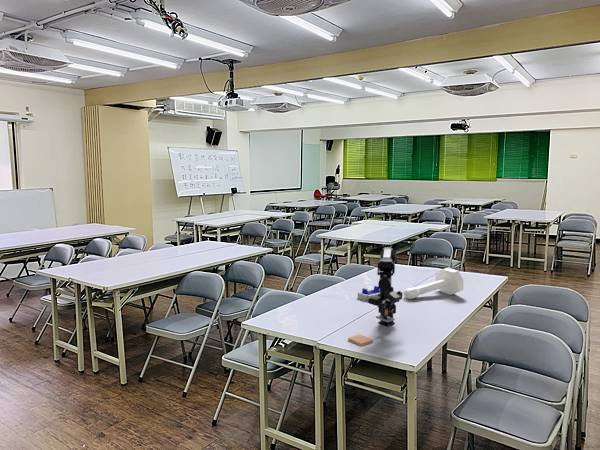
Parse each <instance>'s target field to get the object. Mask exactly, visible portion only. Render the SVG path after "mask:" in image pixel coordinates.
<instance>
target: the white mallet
mask: <svg viewBox="0 0 600 450" xmlns="http://www.w3.org/2000/svg"><path fill="white" fill-rule="evenodd" d="M464 289H465V288H464V279H463V276H462V275H461V273H460V271H459V270H456V269H454V268H450V267H446V268H443V269H441V270H439V271H438V272H436V273H435V281H433V282H429V283H427V284H423V285H420V286H416V287H414V286H412V287H409V288H406V289H404V290H403V296H404V298H405V299H407V300H413V299H416V298H418V297H419V296H420V295H423V294H427V293H429V292H433V291H436V290H439V291H440V292H442V293H445V294H448V295H450V296H451V295H455V294H457V293H460V292H462V291H464Z"/></svg>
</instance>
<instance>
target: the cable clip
mask: <svg viewBox="0 0 600 450" xmlns="http://www.w3.org/2000/svg"><path fill="white" fill-rule="evenodd" d="M373 287H374V288H373V289H374V290H373V292H372V293H370V294H369V293H368V291H367V290H368V288H364V287H363V288H362V290H361V292H362V293H363V294H366V295H371V294H375V293H379V289H378V285H374V286H373Z"/></svg>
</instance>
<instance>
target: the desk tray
mask: <svg viewBox="0 0 600 450" xmlns="http://www.w3.org/2000/svg"><path fill="white" fill-rule="evenodd" d="M373 290H374V288H371V289H367V291H368V293H369V294H370V293H372V292H373ZM378 294H380V289H379V293H375V294H371V295H366V294H363V293H362V291H357V299H359V300H362V301H365V302H368V299H369V298H371V297H377V298H380V297H378Z"/></svg>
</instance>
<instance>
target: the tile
mask: <svg viewBox="0 0 600 450" xmlns="http://www.w3.org/2000/svg"><path fill="white" fill-rule="evenodd" d="M347 338H348V339H347V341H349V342H351V343H353V344H356V345H358V346H360V347H363V346H366V345H369V344H372V343H374V339H373V338H370V337H368V336H365V335H364V334H361V333H359V334H356V335H353V336H350V337H347Z"/></svg>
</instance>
